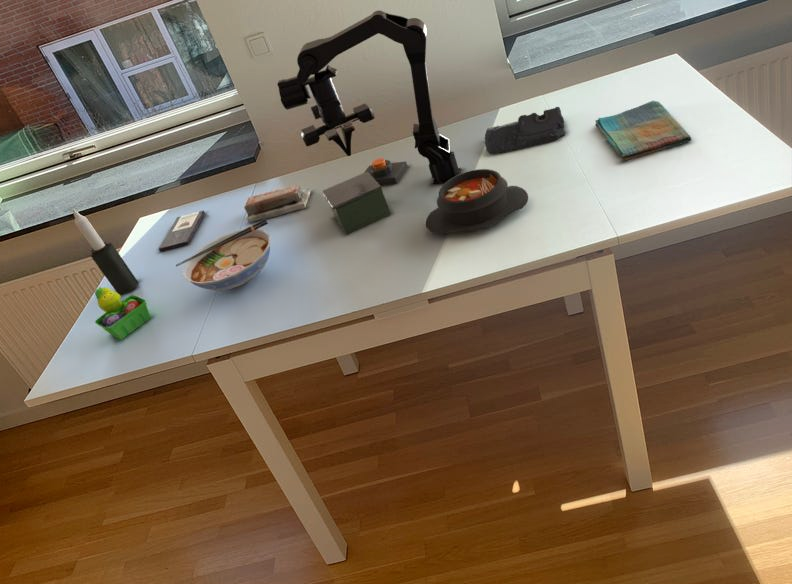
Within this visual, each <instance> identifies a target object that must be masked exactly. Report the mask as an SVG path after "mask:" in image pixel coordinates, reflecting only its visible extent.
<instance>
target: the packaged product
mask: <svg viewBox="0 0 792 584" xmlns="http://www.w3.org/2000/svg"><path fill="white" fill-rule="evenodd" d="M311 193H312V191H311V189H310V188H306V189H302V190H301V185H300V184H295V185H291V186H288V187H283V188H280V189H279V188H278V189H275V190H270V191H267V192H264V193H258V194H255V195H252V196H249V197H248V198H247V201H246V202H245V204H244V207H243V209H244V210H245V212H246V214H247V217H246V221H247V223H253V222H256V221H261V220H263V219H268V218H269V219H270V218H275V217H279V216H281V215H284V214H288V213H291V212H295V211H299V210H303V209H307V208H306V207H307V204H308V201H309V198H310V195H311Z"/></svg>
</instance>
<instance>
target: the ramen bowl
mask: <svg viewBox="0 0 792 584" xmlns="http://www.w3.org/2000/svg"><path fill="white" fill-rule="evenodd" d="M268 225H269V222H268V221H267V218H265V219H261V220H258V222H255V223H253V224H252V225H251V226H248V227H246V228H244V229H241V230H236V231H234V232H233V231H232V232H231V233H228V234H225V235H222V236H220V237H218V238H216V239H214V240H213V241H211V242H209V243H207V244H206V245H204V246H202V247H201V248H200V249H199V250H198V251H197V252H195V253H194V254H193V255H192V256H190V257H188V258H187V259H184V260H182V261H181V262H178V263H177V264H176V267H178V266H180V265H183V264H185V263H186V264H185V265H184V267H183V268H184V269H183V274H182V275H183V277H184V278H185V279H186V280H187V281H188V282H189V283H191V284H192V285H194V286H196V287H198V288H201V289H206V290H209V291H210V290H211V291H216V292H220V291H221V292H222V291H227V290H232V289H235V288H238V287H240V286H243V285H245V284H247V283H248V282H250V281H251V280H253V279H254V278H255V277H256V276H257V275H259V273H261V271H263V269H264V267H265V266H266V264H267V263H268V260H269V257H270V252H271V236H270V234H269V233H268V232H267V231H265V230H264V229H260V228H263V227H264V226H268Z"/></svg>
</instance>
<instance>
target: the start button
mask: <svg viewBox="0 0 792 584" xmlns="http://www.w3.org/2000/svg"><path fill="white" fill-rule="evenodd" d="M385 160H386V159H384V158H383V157H382V158H377V159H375V160H373V161H372V162H371V165H373V168H374V170H379V169H382V168H384V167H385V166H386V163H385Z"/></svg>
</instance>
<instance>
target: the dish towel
mask: <svg viewBox="0 0 792 584" xmlns="http://www.w3.org/2000/svg"><path fill="white" fill-rule="evenodd" d="M594 125H595V127H596V129H598V131H599V132H600V133H601V134H602V135H603V136H604V138H605V139H606V140H607V141H608V142H609V144H610V145H611V146H612V147H613V148H614V150H615V152H616V153H617V154H618V156H619V157H620V158H621V160H622V161H623V162H625V161H628V160H631V159H634V158H638V157H641V156H645V155H649V154H651V153H654V152H658V151H662V150H666V149H669V148H673V147H677V146H678V145H679V146H680V145H683V144H687V143H689V142H691V141H692V137H691V136H690V134H689V133H688V132H687V131H686V130H685V128H684V127H682V125H681V124H680V123H679V122H678V121H677V120H676V119H675V117H673V115H671V113H670V112H669V111H668V110H667V109H666V107H664V105H663V104H662V103H661V102H660V101H658V100H651V101H648V102H646V103H644V104H642V105H638V106H637V107H633V108H631V109H627V110H625V111H623V112H620V113H617V114H613V115H609V116H603V117H598V118H597V119H595V124H594Z"/></svg>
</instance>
